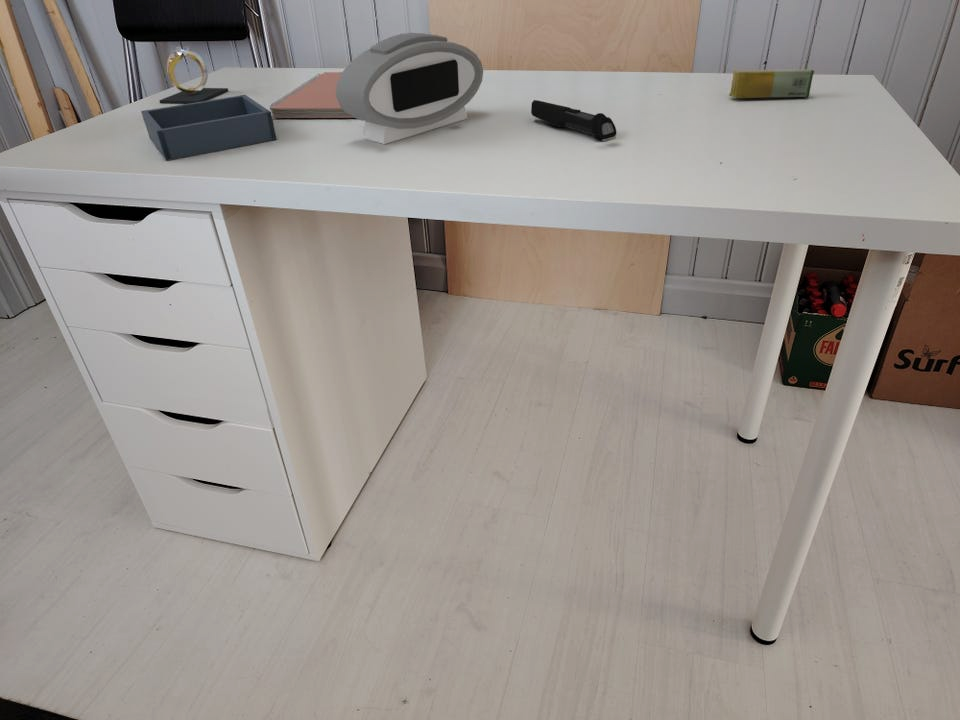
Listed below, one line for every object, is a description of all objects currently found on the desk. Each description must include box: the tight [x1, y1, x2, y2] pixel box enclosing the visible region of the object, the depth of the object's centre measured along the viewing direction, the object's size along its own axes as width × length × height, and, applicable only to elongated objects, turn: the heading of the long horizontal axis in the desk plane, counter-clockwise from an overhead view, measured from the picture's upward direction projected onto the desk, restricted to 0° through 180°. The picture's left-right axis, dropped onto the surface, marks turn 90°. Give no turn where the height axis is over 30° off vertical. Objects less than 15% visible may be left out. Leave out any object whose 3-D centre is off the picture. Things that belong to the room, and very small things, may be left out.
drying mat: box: [158, 87, 229, 105], centre depth 120 cm, size 10×8×1 cm
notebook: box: [269, 71, 356, 119], centre depth 114 cm, size 27×17×2 cm, turn 173°
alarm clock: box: [336, 32, 484, 145], centre depth 94 cm, size 23×6×13 cm, turn 136°
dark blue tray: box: [140, 94, 277, 162], centre depth 96 cm, size 16×14×4 cm
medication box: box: [728, 68, 815, 99], centre depth 103 cm, size 12×3×4 cm, turn 89°
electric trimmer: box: [530, 99, 618, 142], centre depth 94 cm, size 4×16×3 cm, turn 38°
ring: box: [166, 46, 209, 94], centre depth 118 cm, size 7×3×8 cm, turn 132°
